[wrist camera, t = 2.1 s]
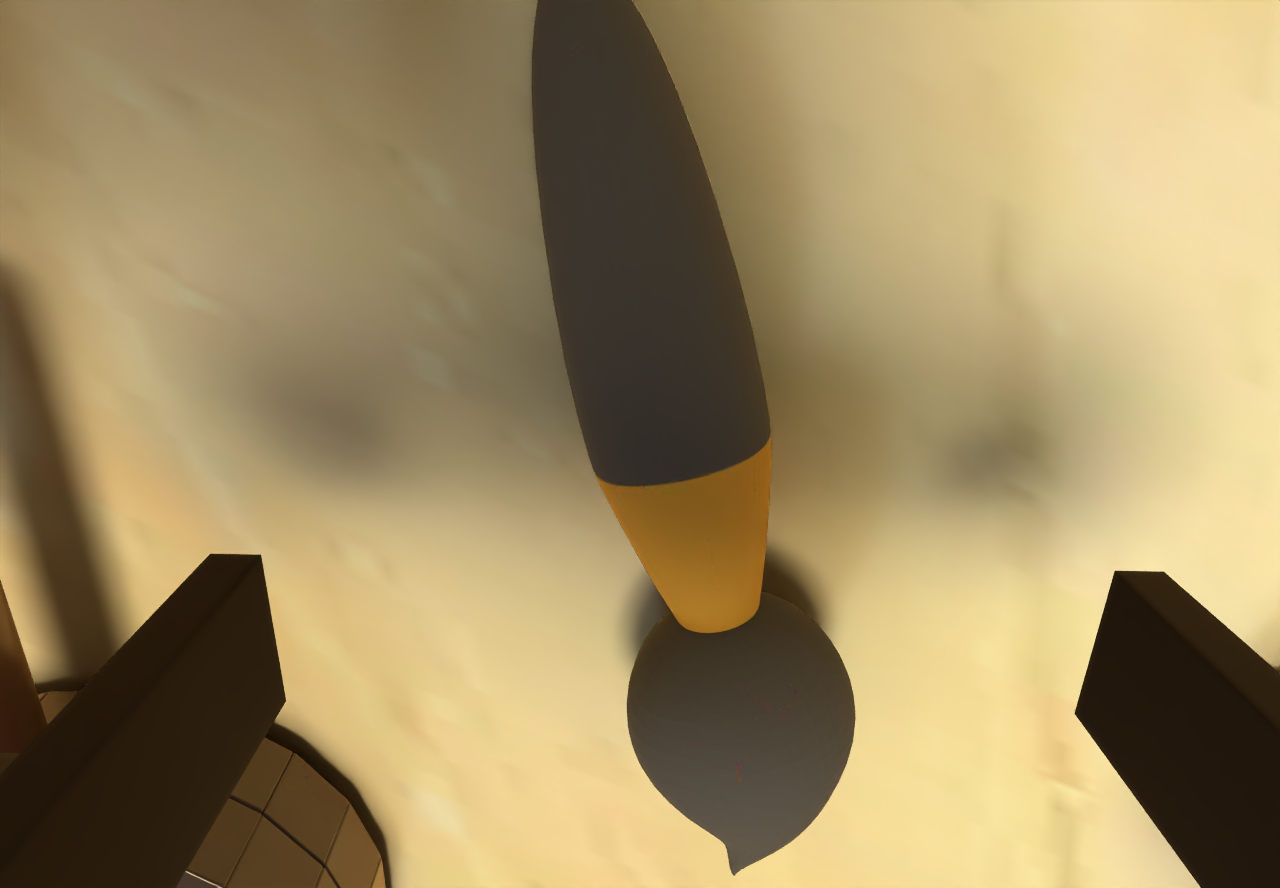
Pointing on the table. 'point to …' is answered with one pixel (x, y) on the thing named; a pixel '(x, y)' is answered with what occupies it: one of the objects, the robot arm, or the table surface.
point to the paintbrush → (678, 437)
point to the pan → (277, 828)
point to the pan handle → (16, 689)
